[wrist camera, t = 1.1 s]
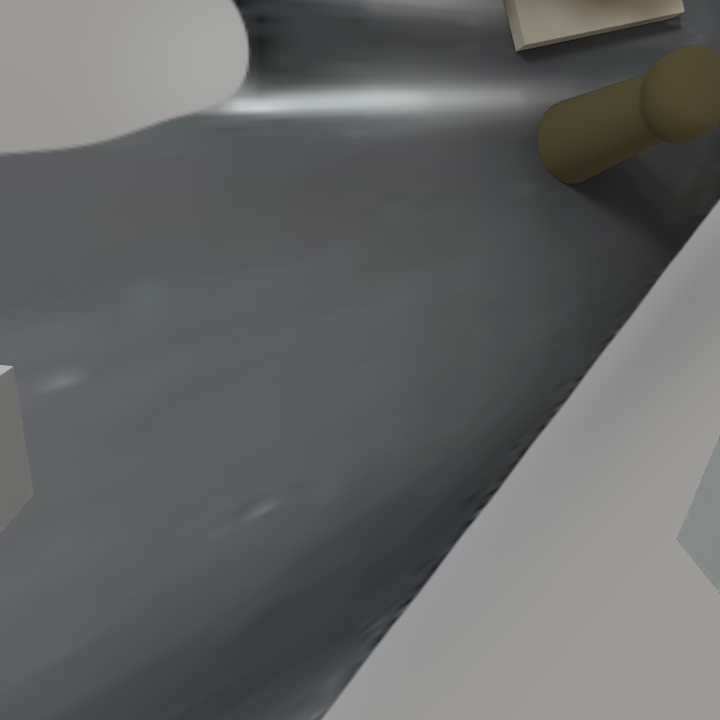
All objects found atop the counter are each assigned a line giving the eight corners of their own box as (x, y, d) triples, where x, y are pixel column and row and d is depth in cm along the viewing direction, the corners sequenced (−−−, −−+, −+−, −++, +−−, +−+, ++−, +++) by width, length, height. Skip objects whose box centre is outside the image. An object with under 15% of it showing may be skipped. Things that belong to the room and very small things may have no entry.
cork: (537, 180, 40) (672, 133, 30) (538, 95, 39) (676, 17, 29) (600, 187, 42) (746, 144, 32) (602, 106, 42) (751, 37, 31)
